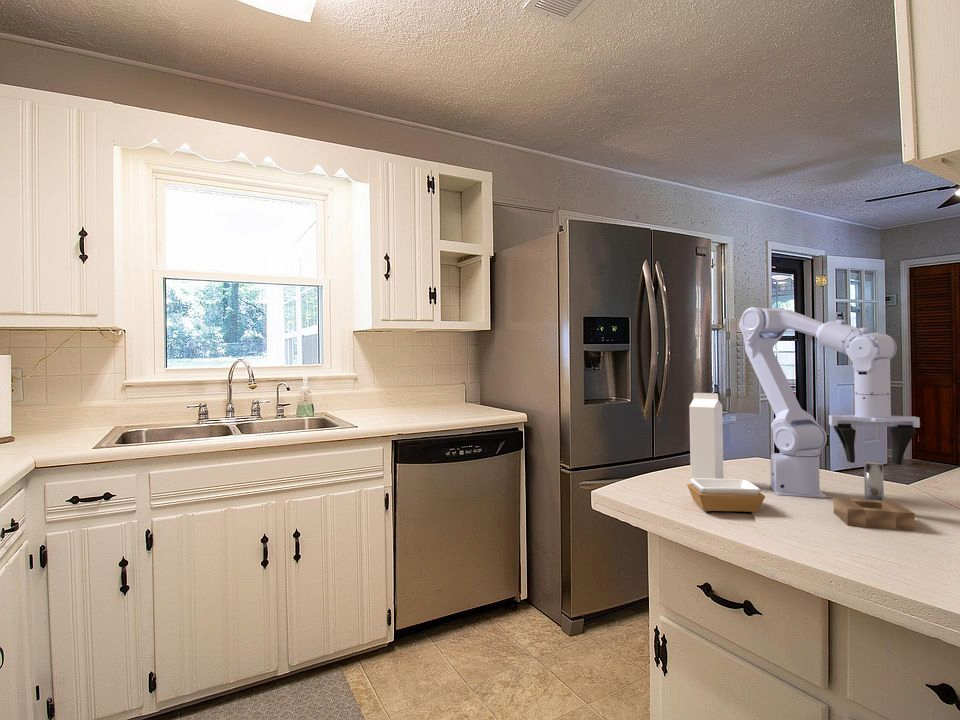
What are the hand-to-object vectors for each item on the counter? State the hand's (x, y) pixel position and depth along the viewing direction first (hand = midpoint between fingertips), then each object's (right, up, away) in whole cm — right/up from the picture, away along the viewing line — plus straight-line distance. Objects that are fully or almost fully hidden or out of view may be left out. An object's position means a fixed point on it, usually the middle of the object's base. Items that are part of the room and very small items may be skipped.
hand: (873, 462), depth 103 cm
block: (-5, -10, -7) cm, 13 cm away
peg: (0, -9, 0) cm, 9 cm away
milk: (-21, -10, +27) cm, 35 cm away
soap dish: (-27, -10, +5) cm, 30 cm away
